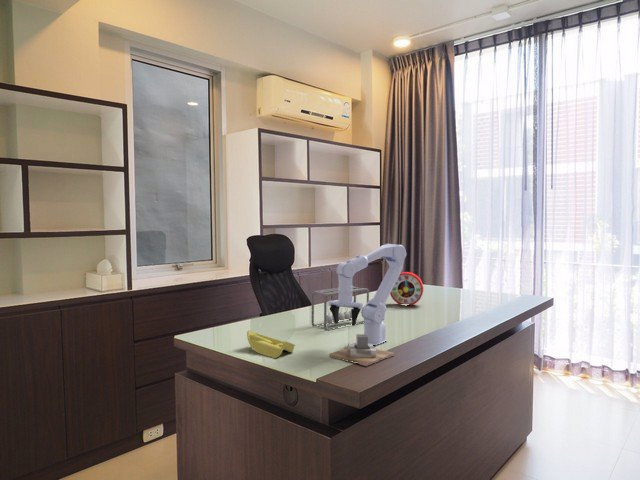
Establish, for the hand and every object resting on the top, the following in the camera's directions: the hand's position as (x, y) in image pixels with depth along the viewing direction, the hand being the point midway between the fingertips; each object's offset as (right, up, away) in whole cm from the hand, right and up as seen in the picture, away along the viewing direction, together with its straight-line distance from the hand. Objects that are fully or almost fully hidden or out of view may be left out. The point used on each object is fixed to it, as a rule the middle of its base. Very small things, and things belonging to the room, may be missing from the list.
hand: (345, 324), depth 189 cm
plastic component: (-31, -10, -6) cm, 33 cm away
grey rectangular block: (+6, -9, -12) cm, 16 cm away
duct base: (+6, -10, -12) cm, 17 cm away
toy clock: (+42, -5, +90) cm, 100 cm away
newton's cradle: (0, -8, +39) cm, 40 cm away
